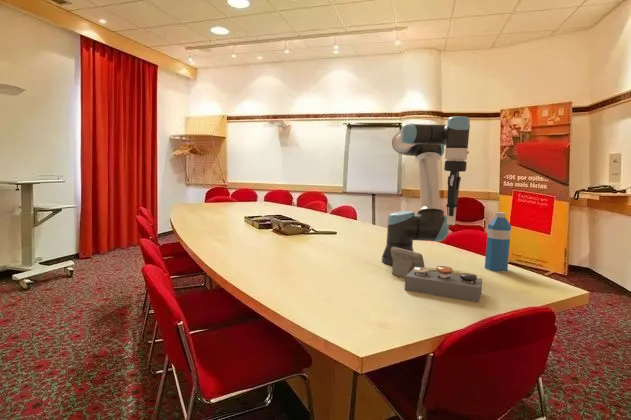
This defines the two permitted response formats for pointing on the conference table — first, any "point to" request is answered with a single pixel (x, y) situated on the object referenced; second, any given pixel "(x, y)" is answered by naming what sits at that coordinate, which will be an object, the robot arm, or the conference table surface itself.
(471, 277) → the plunger black
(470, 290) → the panel
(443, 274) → the plunger terracotta
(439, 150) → the robot arm
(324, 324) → the conference table surface
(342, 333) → the conference table surface
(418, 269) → the plunger ivory
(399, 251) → the digital clock
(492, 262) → the water bottle
